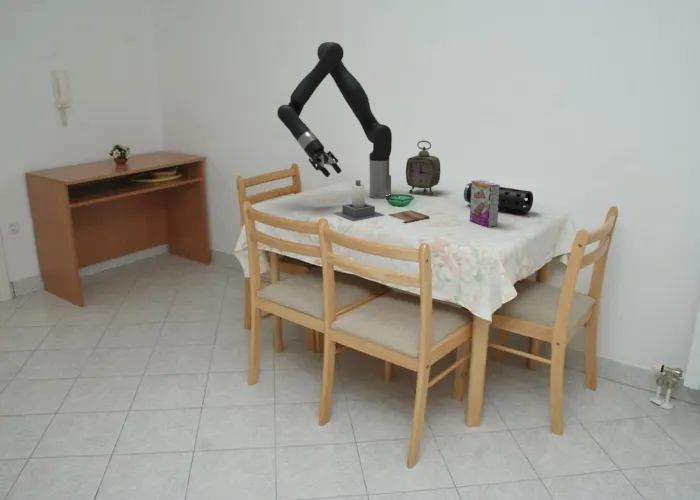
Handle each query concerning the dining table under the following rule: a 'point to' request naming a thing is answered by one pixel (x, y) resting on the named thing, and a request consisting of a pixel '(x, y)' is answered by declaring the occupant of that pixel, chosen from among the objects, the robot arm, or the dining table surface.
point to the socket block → (358, 212)
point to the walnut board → (409, 216)
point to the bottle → (358, 195)
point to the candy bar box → (484, 203)
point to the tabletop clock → (423, 170)
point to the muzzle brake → (508, 199)
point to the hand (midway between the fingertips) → (334, 174)
